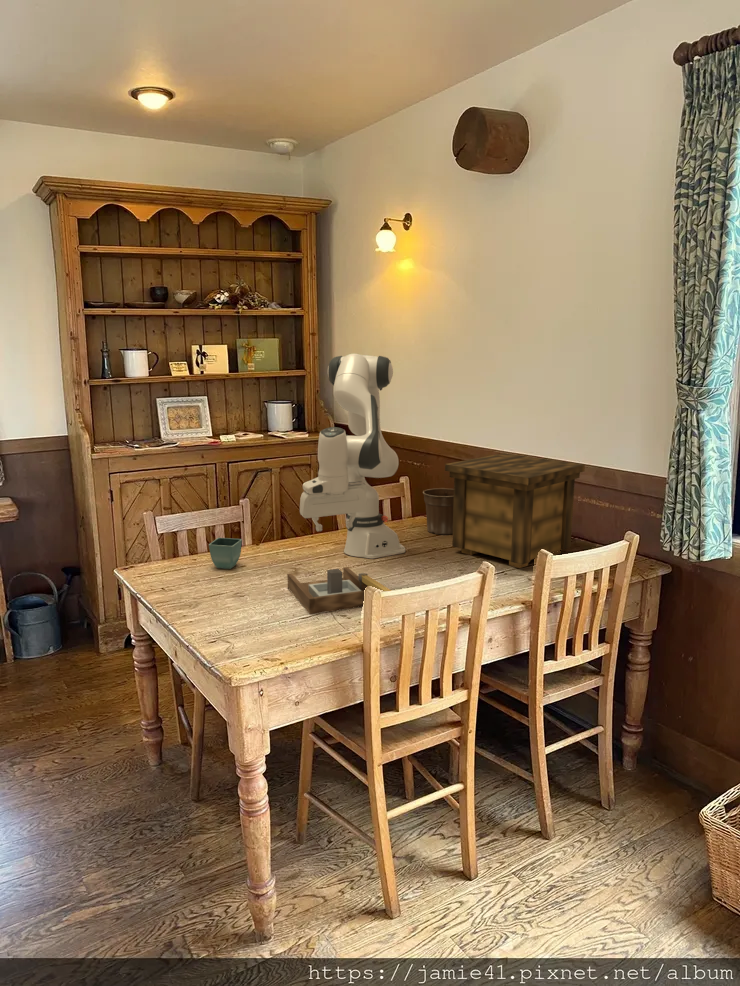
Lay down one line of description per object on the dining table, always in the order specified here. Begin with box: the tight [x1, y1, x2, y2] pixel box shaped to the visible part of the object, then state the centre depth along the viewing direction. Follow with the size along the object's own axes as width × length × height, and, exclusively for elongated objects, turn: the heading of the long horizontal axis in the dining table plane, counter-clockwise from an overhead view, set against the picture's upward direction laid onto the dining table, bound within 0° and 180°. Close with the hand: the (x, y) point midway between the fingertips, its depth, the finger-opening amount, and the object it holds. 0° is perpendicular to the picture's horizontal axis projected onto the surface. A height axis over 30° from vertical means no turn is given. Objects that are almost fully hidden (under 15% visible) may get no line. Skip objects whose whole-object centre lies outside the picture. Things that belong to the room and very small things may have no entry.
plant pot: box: [422, 487, 454, 536], centre depth 303 cm, size 16×16×16 cm
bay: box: [287, 566, 367, 615], centre depth 230 cm, size 20×24×5 cm
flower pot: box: [208, 537, 243, 570], centre depth 257 cm, size 9×9×9 cm
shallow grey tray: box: [309, 568, 361, 597], centre depth 225 cm, size 13×11×8 cm
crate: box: [444, 452, 586, 569], centre depth 272 cm, size 35×35×33 cm
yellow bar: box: [357, 572, 392, 591], centre depth 222 cm, size 18×3×2 cm, turn 27°
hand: (334, 529), depth 225 cm, fingers open, 8 cm apart
